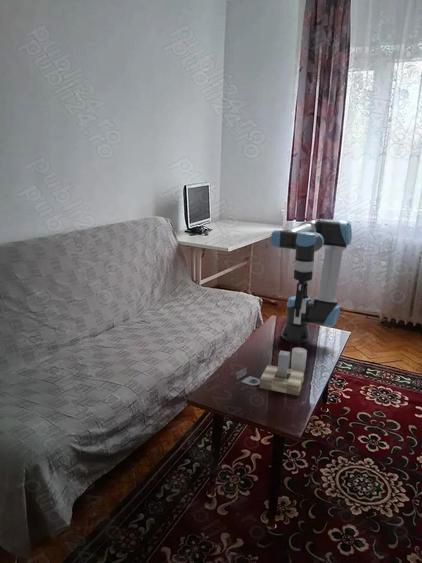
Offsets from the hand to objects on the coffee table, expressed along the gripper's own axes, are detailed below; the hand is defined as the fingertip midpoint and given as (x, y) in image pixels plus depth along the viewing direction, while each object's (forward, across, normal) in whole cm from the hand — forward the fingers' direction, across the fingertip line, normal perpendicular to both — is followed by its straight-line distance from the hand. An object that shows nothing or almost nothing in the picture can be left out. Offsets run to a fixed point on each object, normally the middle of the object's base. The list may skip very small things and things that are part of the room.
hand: (299, 318), depth 177 cm
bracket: (+26, +15, -17) cm, 34 cm away
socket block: (+26, +12, -3) cm, 29 cm away
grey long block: (+26, +12, -4) cm, 29 cm away
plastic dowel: (+26, -5, 0) cm, 27 cm away
